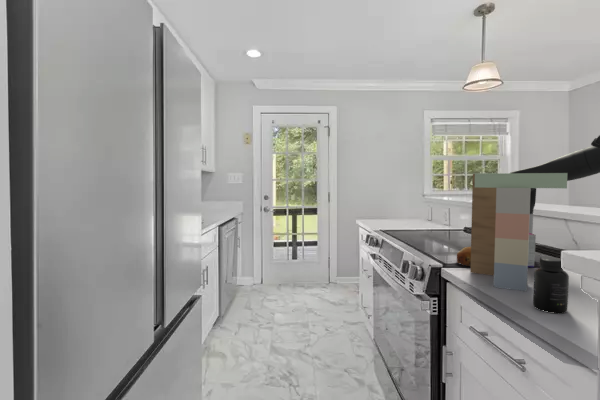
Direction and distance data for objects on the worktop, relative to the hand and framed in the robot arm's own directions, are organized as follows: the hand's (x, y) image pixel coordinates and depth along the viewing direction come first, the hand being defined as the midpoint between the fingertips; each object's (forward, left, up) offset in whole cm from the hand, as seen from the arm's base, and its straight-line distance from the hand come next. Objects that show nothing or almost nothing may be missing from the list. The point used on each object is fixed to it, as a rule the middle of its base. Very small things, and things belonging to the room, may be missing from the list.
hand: (594, 139), depth 102 cm
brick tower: (+7, -18, -41) cm, 45 cm away
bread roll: (-17, -32, -41) cm, 55 cm away
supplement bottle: (+24, -9, -41) cm, 49 cm away
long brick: (+7, -17, -13) cm, 23 cm away
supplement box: (-23, -16, -41) cm, 50 cm away
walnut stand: (-7, -25, -41) cm, 49 cm away
